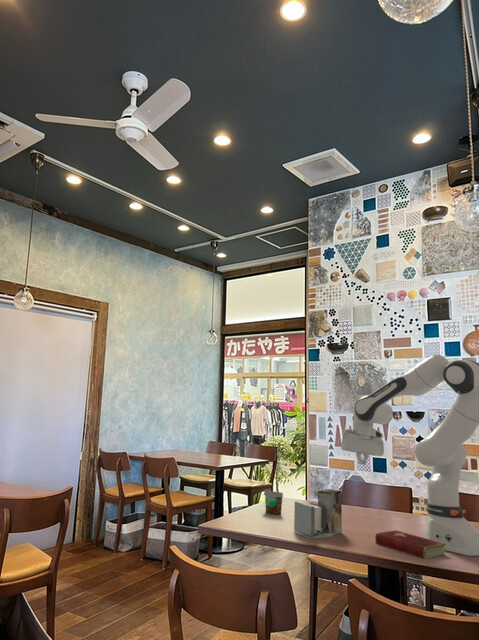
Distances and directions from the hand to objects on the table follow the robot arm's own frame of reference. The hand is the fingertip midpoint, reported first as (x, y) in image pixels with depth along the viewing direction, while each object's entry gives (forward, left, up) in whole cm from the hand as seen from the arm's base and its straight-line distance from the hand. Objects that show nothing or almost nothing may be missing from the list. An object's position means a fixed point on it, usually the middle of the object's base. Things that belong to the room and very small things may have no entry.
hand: (362, 464), depth 197 cm
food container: (+39, +22, -26) cm, 52 cm away
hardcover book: (-29, +5, -27) cm, 40 cm away
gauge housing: (-1, +27, -26) cm, 38 cm away
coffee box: (-1, +19, -26) cm, 32 cm away
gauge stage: (-2, +27, -25) cm, 37 cm away
